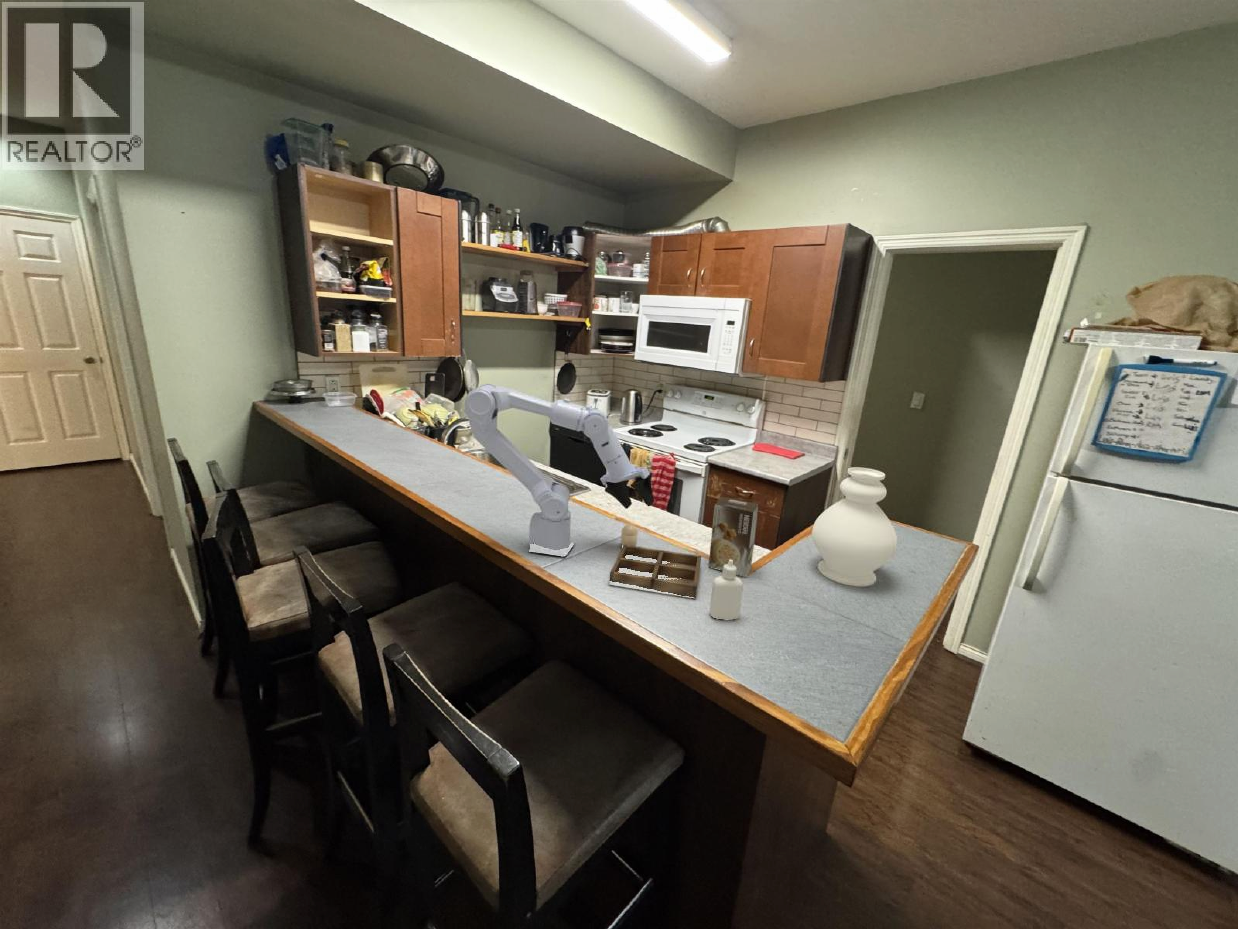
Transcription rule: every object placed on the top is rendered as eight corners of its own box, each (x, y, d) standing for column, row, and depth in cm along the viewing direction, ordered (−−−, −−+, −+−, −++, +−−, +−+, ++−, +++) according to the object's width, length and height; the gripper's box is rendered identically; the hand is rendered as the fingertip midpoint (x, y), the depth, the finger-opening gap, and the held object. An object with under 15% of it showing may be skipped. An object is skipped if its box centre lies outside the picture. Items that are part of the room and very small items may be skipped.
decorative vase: (857, 600, 103) (880, 489, 96) (790, 564, 118) (806, 465, 111) (904, 582, 112) (929, 478, 105) (837, 550, 127) (854, 458, 120)
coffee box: (752, 567, 115) (761, 503, 111) (745, 578, 110) (754, 512, 106) (714, 557, 119) (722, 495, 115) (706, 567, 114) (713, 503, 110)
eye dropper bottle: (712, 606, 98) (719, 552, 95) (740, 614, 96) (748, 559, 93) (706, 617, 94) (713, 561, 91) (735, 626, 92) (743, 568, 89)
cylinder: (619, 549, 121) (620, 527, 119) (622, 542, 125) (623, 521, 123) (634, 551, 120) (636, 529, 119) (637, 545, 124) (639, 523, 122)
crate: (609, 585, 104) (609, 572, 103) (623, 556, 117) (624, 544, 117) (695, 599, 100) (697, 586, 99) (700, 567, 114) (701, 555, 113)
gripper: (645, 443, 111) (670, 493, 114) (603, 453, 121) (628, 498, 125) (627, 459, 106) (654, 510, 110) (586, 468, 117) (612, 514, 120)
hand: (639, 505), depth 117 cm, fingers open, 7 cm apart
